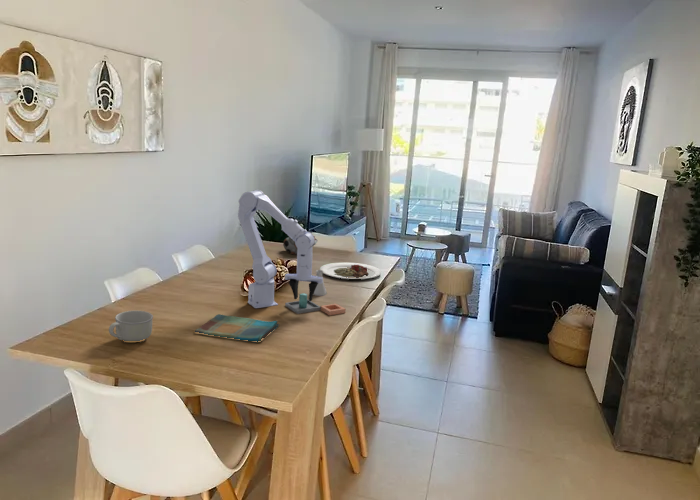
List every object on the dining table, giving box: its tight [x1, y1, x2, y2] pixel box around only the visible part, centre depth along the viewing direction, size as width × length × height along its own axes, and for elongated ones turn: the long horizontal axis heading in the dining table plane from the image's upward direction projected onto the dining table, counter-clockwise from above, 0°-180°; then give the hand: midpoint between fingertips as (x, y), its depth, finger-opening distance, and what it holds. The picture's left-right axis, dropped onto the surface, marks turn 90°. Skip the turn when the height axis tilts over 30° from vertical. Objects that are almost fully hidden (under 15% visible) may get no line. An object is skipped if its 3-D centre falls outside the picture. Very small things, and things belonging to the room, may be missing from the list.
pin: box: [298, 293, 308, 308], centre depth 198 cm, size 3×3×5 cm
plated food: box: [319, 261, 382, 280], centre depth 253 cm, size 30×30×3 cm
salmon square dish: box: [319, 303, 347, 316], centre depth 196 cm, size 7×7×2 cm
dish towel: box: [194, 314, 280, 342], centre depth 174 cm, size 17×23×2 cm
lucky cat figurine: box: [283, 235, 318, 255], centre depth 289 cm, size 17×14×16 cm
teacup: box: [108, 310, 154, 341], centre depth 159 cm, size 14×11×8 cm
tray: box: [284, 299, 321, 315], centre depth 198 cm, size 10×10×2 cm
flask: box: [313, 269, 328, 297], centre depth 217 cm, size 7×7×10 cm
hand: (303, 299), depth 198 cm, fingers open, 5 cm apart
